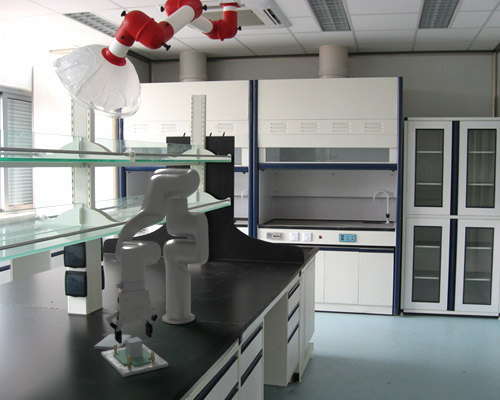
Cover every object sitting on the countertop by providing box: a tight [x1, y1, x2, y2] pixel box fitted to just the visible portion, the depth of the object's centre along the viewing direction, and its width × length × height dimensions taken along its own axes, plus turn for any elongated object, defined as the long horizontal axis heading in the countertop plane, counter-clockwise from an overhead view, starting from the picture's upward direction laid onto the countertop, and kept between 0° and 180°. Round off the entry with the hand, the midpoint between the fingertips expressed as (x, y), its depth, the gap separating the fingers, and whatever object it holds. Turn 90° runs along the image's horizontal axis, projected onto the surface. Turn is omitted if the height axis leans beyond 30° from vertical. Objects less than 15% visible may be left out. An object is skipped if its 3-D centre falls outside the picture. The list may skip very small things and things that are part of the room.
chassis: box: [100, 343, 169, 378], centre depth 162 cm, size 20×14×4 cm
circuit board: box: [113, 336, 155, 367], centre depth 162 cm, size 14×10×6 cm
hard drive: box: [93, 333, 132, 351], centre depth 178 cm, size 2×8×12 cm
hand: (134, 339), depth 162 cm, fingers open, 9 cm apart
